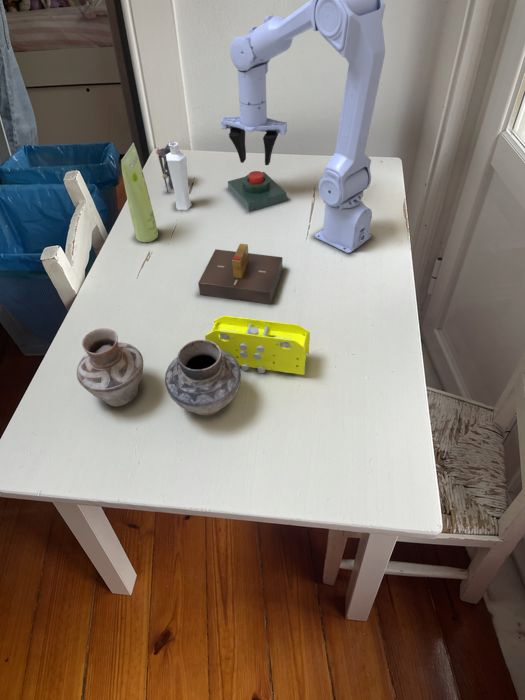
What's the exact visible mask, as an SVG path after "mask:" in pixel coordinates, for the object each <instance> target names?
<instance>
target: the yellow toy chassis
mask: <svg viewBox="0 0 525 700" xmlns="http://www.w3.org/2000/svg"><path fill="white" fill-rule="evenodd" d="M310 336H311V332H310V331H309V330H308V329H306V328H304V327H303V326H301V325H300V324H295V323H287V322H281V321H271V320H263V319H257V318H247V317H239V316H232V315H222V316H219V317H218V318H215V319H213V325H212V328H211V331H210V332H208V333H206V334H205V335H204V338H205V339H204V340H209V341H212V342H214V343H216V344H217V345H218V346H219V348H220V349H221V350H224V351H226V352H228V353H230V354H231V355H232V356H233V357H234V358H235V359H236V360H237V361H238V363H239V366H240V369H241V370H242V371H245V372H247V371H249V369H250V368H253V369H257V372H258V373H260V374H264V373H265V371H266V370H267V371H273V372H281V373H285V374H293V375H302V376H304V375H305V374H306V373H305V372H306V362H307V357H308V356H307V355H309V353H310V338H311V337H310Z"/></svg>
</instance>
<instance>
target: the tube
mask: <svg viewBox="0 0 525 700" xmlns="http://www.w3.org/2000/svg"><path fill="white" fill-rule="evenodd" d="M120 165H121V167H120V168H121V173H122V180H123V184H124V185H123V186H124V189H125V194H126V200H127V203H128V204H127V205H128V209H129V214H130V218H131V222H132V226H133V230H134V235H135V238H136V240H137V241H138V242H141V243H151V242H153V241H155V240H156V239H157V238H158V236H159V231H158V226H157V222H156V218H155V214H154V209H153V206H152V201H151V198H150V194H149V189H148V185H147V182H146V178H145V175H144V171H143V167H142V164H141V161H140V157H139V154H138V151H137V148H136V146H135V142H132V144H131V145H130V147H129V149H128V150H127V151H126V153H125V154H124V156H123V157H122V159H121V160H120Z"/></svg>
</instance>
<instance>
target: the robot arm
mask: <svg viewBox="0 0 525 700" xmlns="http://www.w3.org/2000/svg"><path fill="white" fill-rule="evenodd" d="M385 9H386V2H385V1H384V0H308V1H307V2H306V3H303V5H301V6H300V7H299V8H298V9H295V11H293V12H292V13H290V14H289V15H288V16H286V17H283V16H281V15H274V14H270V15H267V16H265V17H263V21H264V22H263V23H262V24H260V25H259V26H253V27H250V28H249V30H248V31H249V32H248V34H245V35H242V36H241V35H239V36H235V38H234V39H233V40H232V42H231V44H230V47H229V54H230V59H231V62H232V64H233V66H234V67H235V68H236V69H237V81H238V98H239V100H238V101H239V116H224V117H223V118H222V119H221V120H220V125H221V130H228V129H229V133H228V137H229V139H230V141H231V142H232V144H233V145H234V147H235V149H236V152H237V154H238V158H239V161H240V163H241V164H244V162H245V161H246V159H247V151H246V133H254V132H263V133H265V134H264V135H263V137H262V141H263V146H264V165H265V166H269V165H270V163H271V160H272V159H271V158H272V153H273V150H274V146H275V144H276V141H277V139H278V135H283V136H285V135H286V134H287V132H288V122H287V121H280V120H277V119H273V118H270V117H269V118H268V115H267V114H268V111H267V73H268V72H269V63H270V61H271V60H272V59H274V58H275V57H277V56H278V55H281V54H282V53H284V52H286V51H288V50H289V49H290V48H291V47H292V43H293V38H295V37H297V36H299V35H301V34H304V33H305V32H307V31H310V30H311V29H312V30H313V31H314V32H319V34H320V35H321V36H322V38H323V39H324V40H325V41H326V42H327V43H328V44H330V46H332V48H333V49H335V51H336V52H337V53H338V54H339V55H340V56H341V57H342V58H345V60H346V61H347V63H348V68H347V74H346V80H345V86H344V92H343V100H342V105H341V106H342V107H341V112H340V120H339V124H338V130H337V138H336V144H335V150H334V154H333V155H332V157H331V158H330V160H328V162H327V164H326V166H325V167H324V172H323V175H322V177H321V178H320V180H319V182H318V193H319V196H320V198H321V200H322V201H323V203H324V216H323V228H322V229H321V230H320V231H318V232H316V233H315V234H314V238H315V239H317V240H319V241H321V242H323V243H326V244H328V245H330V246H332V247H334V248H336V249H338V250H340V251H342V252H344V253H346V254H351V253H352V252H353V251H355V250H356V249H358V248H359V247H360V246H362V245H364V243H366V242H367V241H368V240H369V239H371V237H372V236H371V235H370V232H371V231H370V230H371V224H372V218H373V210H372V209H371V208H370V207H369V206H367V205H366V204H364V202H363V200H362V198H363V196H364V191H365V190H367V189H368V188H369V187H370V185H371V183H372V173H371V162H372V160H371V158H370V157H369V156H368V155H367V154H365V153H366V148H367V144H368V138H369V134H370V130H371V129H370V128H371V124H372V118H373V115H374V108H375V104H376V100H377V94H378V90H379V85H380V80H381V75H382V71H383V66H384V61H385V55H386V46H385V37H384V27H383V20H384V14H385Z"/></svg>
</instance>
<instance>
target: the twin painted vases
mask: <svg viewBox="0 0 525 700" xmlns="http://www.w3.org/2000/svg"><path fill="white" fill-rule="evenodd" d="M118 338H119V337H118V333H117V332H116V331H114V330H113V329H111V328H105V327H101V328H96V329H93V330H91V331H89V332H88V333H87V334H86V335H85V336H84V337H83V338H82V341H81V347H82V349H83V350H84V352H85V355H84V356H82V358H81V359H80V361H79V363H78V364H77V368H76V378H77V381H78V383H79V385H81V386H82V387H83V389H85V390H86V391H87V392H88V393H90V394H91V395H93V396H94V397H96V398H97V399H99V400H103V402H104V403H105V404H107V405H108V406H112V407H121V406H125V405H127V404H130V402H132V401H133V400H134V399H135V397H136V396H137V395H138V392H139V385H140V383H141V380H142V377H143V372H144V358H143V355H142V353H141V352H140V350H139V349H138V348H136V346H134V345H132V344H130V343H126V342H121V341H118ZM241 380H242V368H241V366H239V363H238V361H237V360H236V359H235V358H234V357H233V356H232V355H231V354H230V353H228V352H226V351H224V350H221V349H220V348H219V346H218V345H217V344H216V343H214V342H212V341H209V340H206V339H195V340H191V341H189V342H187V343H186V344H184V345H183V346H182V347H181V348H180V349H179V351H178V352H177V357H175V358H174V359H173V360H172V361H171V362H170V363H169V364H168V366H167V369H166V371H165V375H164V384H165V388H166V391H167V392H168V395H169V397H170V398H171V400H173V402H174V403H175V404H177V405H178V406H179V407H180V408H182V409H184V410H185V411H188V412H191V413H195V414H196V415H199V416H211V415H214V414H217V413H218V412H220V411H221V410H222V409H223V408H225V407H227V405H229V404H230V403H231V402H232V401H233V399H234V398H235V396H236V395H237V393H238V390H239V388H240V384H241Z"/></svg>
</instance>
